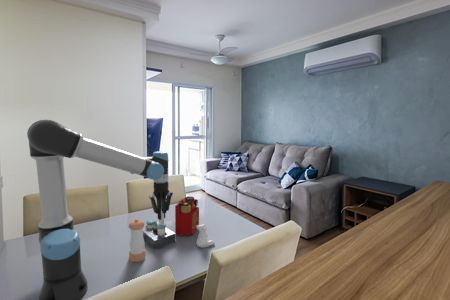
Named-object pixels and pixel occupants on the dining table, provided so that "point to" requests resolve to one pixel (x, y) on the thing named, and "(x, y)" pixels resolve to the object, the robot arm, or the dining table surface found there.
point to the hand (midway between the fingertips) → (161, 224)
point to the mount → (157, 241)
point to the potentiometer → (155, 226)
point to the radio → (186, 216)
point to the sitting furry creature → (203, 237)
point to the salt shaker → (136, 241)
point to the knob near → (161, 230)
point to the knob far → (150, 224)
